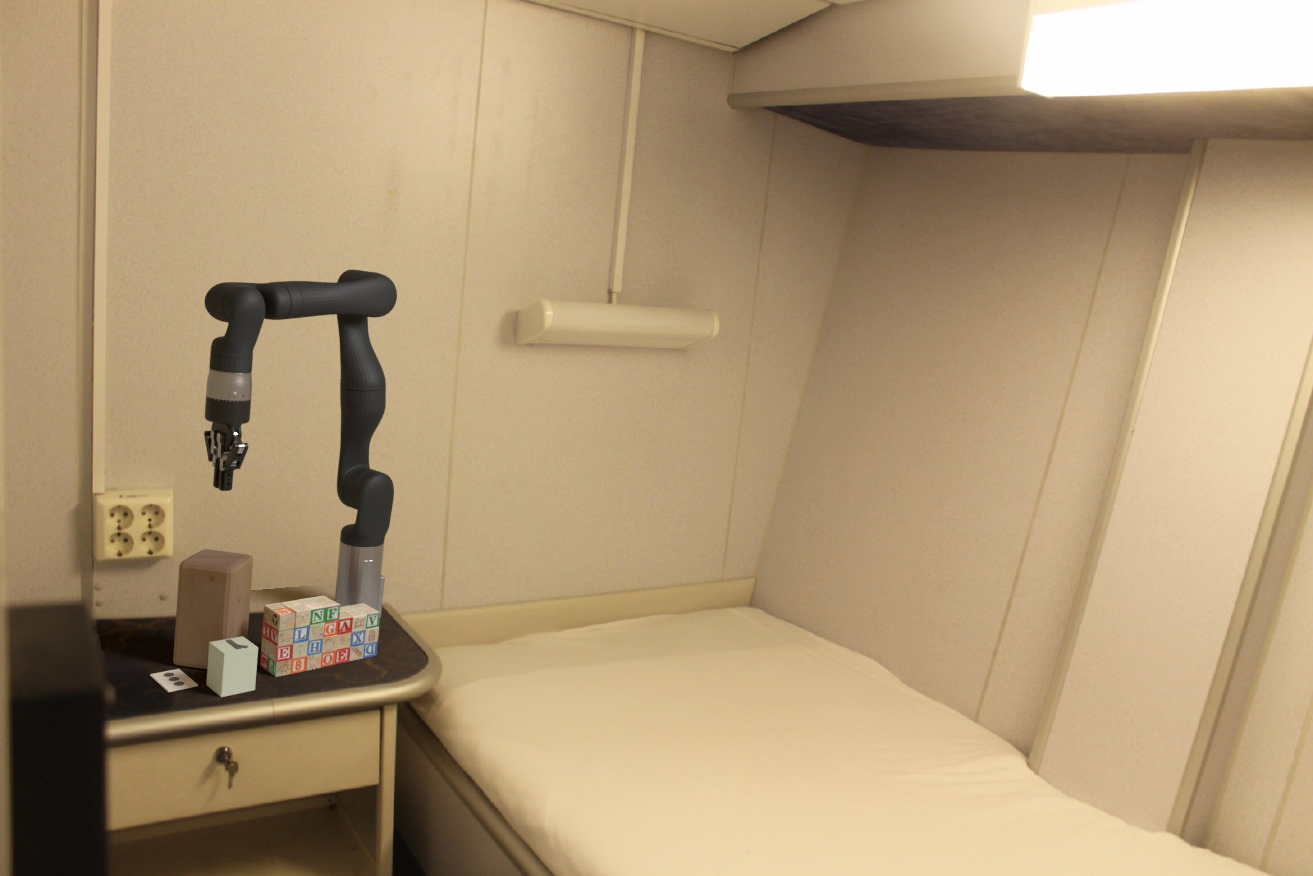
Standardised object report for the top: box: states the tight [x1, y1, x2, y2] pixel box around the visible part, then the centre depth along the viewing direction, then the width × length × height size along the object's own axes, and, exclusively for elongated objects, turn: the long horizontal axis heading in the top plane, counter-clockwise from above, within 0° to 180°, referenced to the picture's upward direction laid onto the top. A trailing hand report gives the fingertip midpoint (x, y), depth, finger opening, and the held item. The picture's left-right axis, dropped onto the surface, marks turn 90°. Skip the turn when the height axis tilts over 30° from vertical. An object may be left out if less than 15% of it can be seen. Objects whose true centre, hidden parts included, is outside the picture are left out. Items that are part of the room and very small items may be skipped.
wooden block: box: [172, 548, 254, 670], centre depth 183 cm, size 10×10×20 cm
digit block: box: [206, 636, 259, 698], centre depth 174 cm, size 6×6×8 cm
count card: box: [149, 668, 199, 693], centre depth 174 cm, size 8×5×1 cm, turn 47°
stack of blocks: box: [259, 595, 381, 678], centre depth 190 cm, size 21×6×12 cm, turn 137°
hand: (222, 488), depth 180 cm, fingers closed
